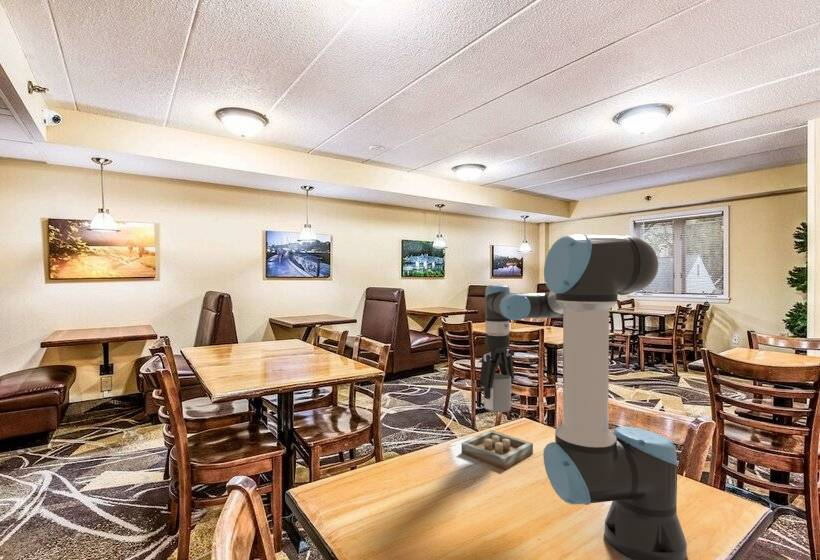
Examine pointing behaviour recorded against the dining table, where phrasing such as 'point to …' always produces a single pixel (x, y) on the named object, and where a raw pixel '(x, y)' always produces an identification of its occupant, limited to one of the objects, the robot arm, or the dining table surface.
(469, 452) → the grey square tray
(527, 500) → the dining table surface
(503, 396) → the cup
